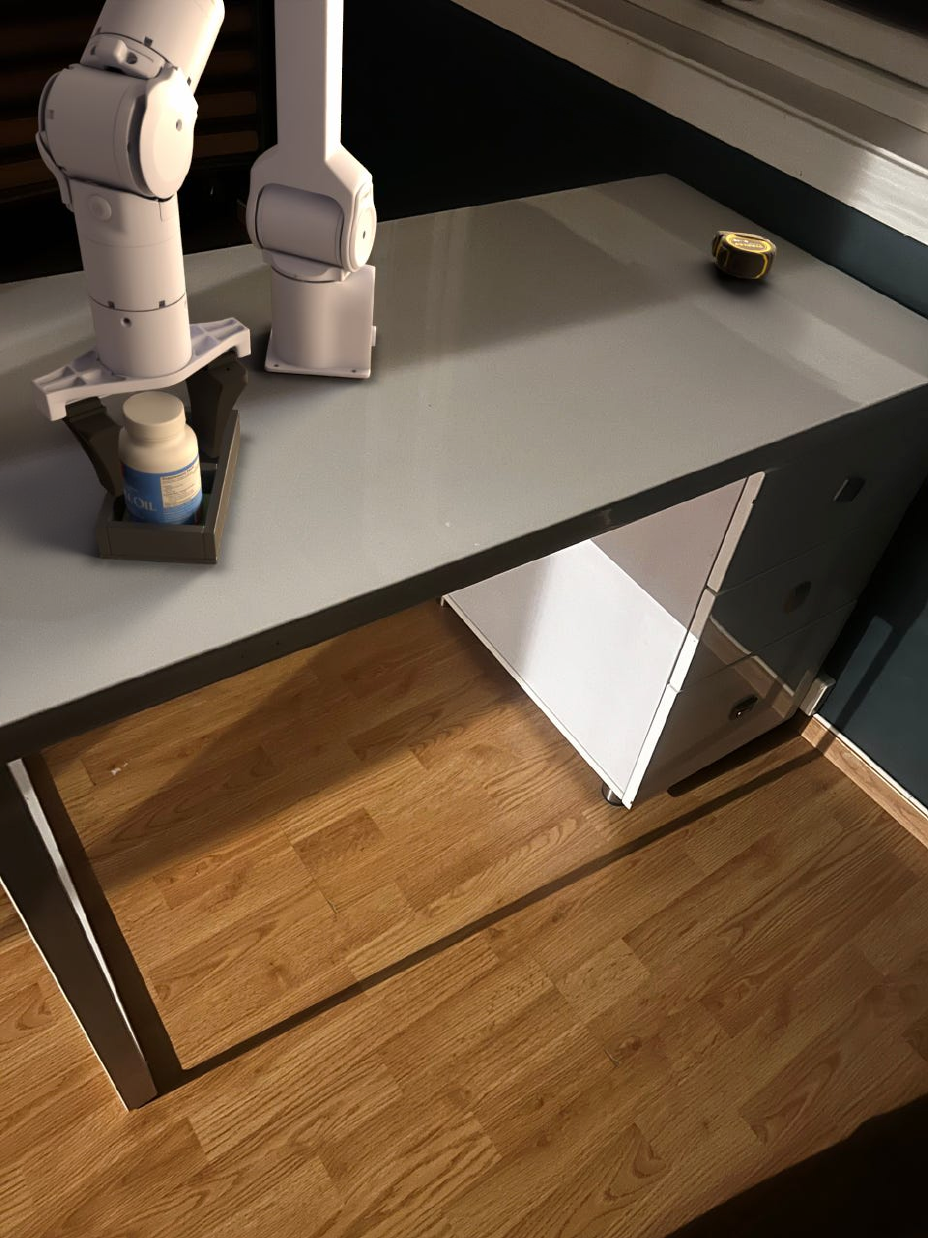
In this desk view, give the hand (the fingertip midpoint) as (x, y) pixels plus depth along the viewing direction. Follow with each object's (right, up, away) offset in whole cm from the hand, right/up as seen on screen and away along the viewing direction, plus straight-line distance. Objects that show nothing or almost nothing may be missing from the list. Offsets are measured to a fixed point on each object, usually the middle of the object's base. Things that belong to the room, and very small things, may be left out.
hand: (161, 468), depth 69 cm
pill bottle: (-1, -3, +3) cm, 5 cm away
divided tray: (-1, -1, +6) cm, 6 cm away
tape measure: (+53, +31, +46) cm, 77 cm away
